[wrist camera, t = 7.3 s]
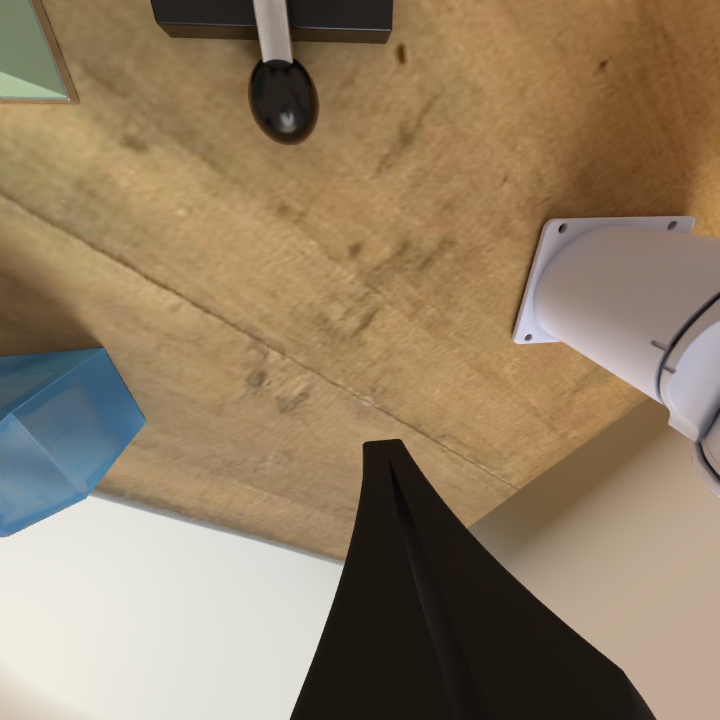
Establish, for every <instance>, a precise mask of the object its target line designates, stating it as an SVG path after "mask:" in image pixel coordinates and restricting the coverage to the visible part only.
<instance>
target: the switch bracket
mask: <svg viewBox="0 0 720 720" xmlns="http://www.w3.org/2000/svg"><path fill="white" fill-rule="evenodd" d="M150 1H151V5H152V9H153V13H154V17H155V20H156V23H157V24H158V25H159V26H160V27H161V28H162V29H163V30H164V31H165V32H166V33H167V34H168V35H169V36H170V37H173V38H208V39H242V40H259V38H258V32H257V26H256V20H255V15H254V9H253V3H252V0H150ZM288 8H289V18H290V27H291V36H292V41H311V42H345V43H380V44H386V43H387V41H388V39H389V36H390V34H391V31H392V16H393V0H288Z"/></svg>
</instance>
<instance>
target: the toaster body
mask: <svg viewBox="0 0 720 720" xmlns="http://www.w3.org/2000/svg"><path fill="white" fill-rule="evenodd" d="M0 103H44V104H79V103H80V102H79V100H78V97H77V94H76V92H75V89H74V87H73V84H72V81H71V79H70V76H69V74H68V71H67V68H66V66H65V63H64V61H63V58H62V55H61V53H60V50H59V47H58V45H57V42H56V40H55V37H54V34H53V32H52V29H51V27H50V24H49V21H48V19H47V16H46V14H45V11H44V8H43V6H42V3H41V1H40V0H0Z"/></svg>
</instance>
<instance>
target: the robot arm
mask: <svg viewBox="0 0 720 720" xmlns="http://www.w3.org/2000/svg"><path fill="white" fill-rule="evenodd" d="M669 224H670V225H669ZM694 224H695V218H694V217H693V216H647V217H603V218H559V219H550V220H549V221H547V222H546V223H545V225H544V227H543V229H542V233H541V236H540V240H539V243H538V247H537V250H536V254H535V257H534V261H533V265H532V268H531V272H530V275H529V279H528V282H527V286H526V289H525V293H524V296H523V300H522V303H521V307H520V311H519V314H518V318H517V321H516V325H515V328H514V332H513V335H512V339H513V341H514V342H516V343H517V344H526V343H543V342H559V341H562V342H564V343H566V344H567V345H569V346H570V347H572V348H574V349H575V350H577V351H578V352H580V353H582V354H583V355H585V356H586V357H588V358H589V359H591V360H593V361H594V362H596V363H597V364H599V365H601V366H602V367H604V368H605V369H607V370H609V371H610V372H612V373H613V374H615V375H616V376H618V377H620V378H621V379H623V380H624V381H626V382H628V383H629V384H631V385H632V386H634V387H636V388H637V389H639V390H640V391H642V392H644V393H645V394H647V395H648V396H650V397H651V398H653V399H655V400H656V401H658V402H659V403H661V404H663V405H664V406H666V407H667V408H668V409H669V410H670V419H669V421H668V424H669V425H670V426H672V427H673V428H675V429H676V430H678V431H679V432H681V433H682V434H684V435H685V436H687V437H688V438H690V439H691V440H693V441H694V442H693V445H692V448H691V455H692V461H693V464H694V467H695V469H696V471H697V472H698V474H699V476H700V477H701V479H702V480H703V481H704V482H705V483H706V485H707V486H708V487H709V488H710V489H711V490H712V491H713V492H714V493H715V494H716V495H717V496H718V497H719V498H720V237H713V236H704V235H695V234H690V232H691V230H692V228H693V226H694ZM561 225H563V227H562V229H561V231H560V232H559V231H558V229H559V227H560V226H561ZM668 225H669V226H668ZM528 334H529V335H528ZM526 335H528V337H527V338H525V337H526ZM290 720H656V718H655V717H654V715H653V713H652V712H651V710H650V708H649V707H648V706H647V704H646V702H645V701H644V700H643V698H642V697H641V695H640V694H639V692H638V691H637V690H636V688H635V687H634V686H633V684H632V683H631V681H630V680H629V679H628V677H627V676H626V674H625V673H624V671H623V670H622V669H620V668H619V667H618V666H617V665H616V664H614V663H613V662H612V661H611V660H609V659H608V658H607V657H606V656H604V655H603V654H602V653H601V652H599V651H598V650H597V649H596V648H595V647H593V646H592V645H591V644H590V643H588V642H587V641H586V640H585V639H584V638H582V637H581V636H580V635H579V634H578V633H576V632H575V631H574V630H573V629H571V628H570V627H569V626H568V625H567V624H566V623H565V622H563V621H562V620H561V619H560V618H559V617H558V616H556V615H555V614H554V613H553V612H552V611H551V610H550V609H548V608H547V607H546V606H545V605H544V604H543V603H542V602H540V601H539V600H538V599H537V598H536V597H535V596H534V595H533V594H532V593H531V592H530V591H529V590H527V589H526V588H525V587H524V586H523V585H522V584H521V583H520V582H519V581H518V580H517V579H516V578H515V577H514V576H513V575H511V574H510V573H509V572H508V571H507V570H506V569H505V568H504V567H503V566H502V565H501V564H500V563H499V562H498V561H497V560H496V559H495V558H494V557H493V556H492V555H491V554H490V553H489V552H488V551H487V550H486V549H485V548H484V547H483V546H482V545H481V544H480V543H479V541H478V540H477V539H476V538H475V537H474V536H473V535H472V534H471V533H470V532H469V531H468V529H467V528H466V527H465V526H464V525H463V524H462V523H461V521H460V520H459V519H458V518H457V517H456V516H455V514H454V513H453V512H452V511H451V510H450V508H449V507H448V506H447V505H446V504H445V502H444V501H443V500H442V498H441V497H440V496H439V495H438V493H437V492H436V491H435V489H434V488H433V487H432V485H431V484H430V483H429V481H428V480H427V479H426V477H425V476H424V474H423V473H422V472H421V470H420V469H419V467H418V466H417V464H416V463H415V461H414V460H413V458H412V457H411V455H410V453H409V452H408V450H407V449H406V447H405V445H404V443H403V442H402V440H400V439H391V440H380V441H369V442H365V443H364V444H363V480H362V487H361V494H360V501H359V506H358V511H357V516H356V521H355V526H354V530H353V534H352V538H351V542H350V546H349V550H348V554H347V557H346V561H345V565H344V568H343V571H342V575H341V578H340V581H339V585H338V588H337V591H336V594H335V598H334V601H333V604H332V607H331V610H330V613H329V616H328V618H327V621H326V624H325V627H324V630H323V633H322V636H321V639H320V641H319V644H318V647H317V650H316V653H315V655H314V658H313V661H312V663H311V666H310V668H309V671H308V673H307V676H306V679H305V681H304V684H303V686H302V689H301V691H300V694H299V697H298V699H297V702H296V704H295V707H294V710H293V712H292V715H291V717H290Z"/></svg>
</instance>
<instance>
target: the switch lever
mask: <svg viewBox="0 0 720 720" xmlns="http://www.w3.org/2000/svg"><path fill="white" fill-rule="evenodd" d="M252 3H253V9H254V15H255V20H256V26H257V32H258V38H259V44H260V50H261V56H262V58H261V59H260V60H259V61H258V62H257V63H256V65H255V66H254V68H253V70H252V72H251V75H250V78H249V83H248V100H249V105H250V109H251V112H252V115H253V117H254V119H255V121H256V123H257V125H258V126H259V128H260V129H261V130H262V131H263V132H264V134H265V135H267V136H268V137H269V138H270V139H272V140H273V141H275V142H277V143H279V144H282V145H289V146H290V145H297V144H299V143H302V142H303V141H305V140H306V139H307V138H308V137H309V136H310V135H311V134H312V132H313V130H314V128H315V126H316V123H317V120H318V115H319V99H318V94H317V90H316V87H315V84H314V81H313V79H312V77H311V76H310V74H309V72H308V71H307V69H306V68H305V67H304V66H303V65H302V64H301V63H300V62H299V61H298V60H296V59H295V58H294V55H293V45H292V36H291V27H290V18H289V8H288V0H252Z"/></svg>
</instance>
